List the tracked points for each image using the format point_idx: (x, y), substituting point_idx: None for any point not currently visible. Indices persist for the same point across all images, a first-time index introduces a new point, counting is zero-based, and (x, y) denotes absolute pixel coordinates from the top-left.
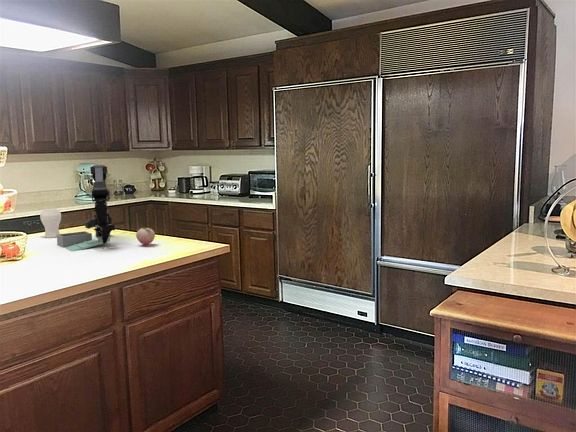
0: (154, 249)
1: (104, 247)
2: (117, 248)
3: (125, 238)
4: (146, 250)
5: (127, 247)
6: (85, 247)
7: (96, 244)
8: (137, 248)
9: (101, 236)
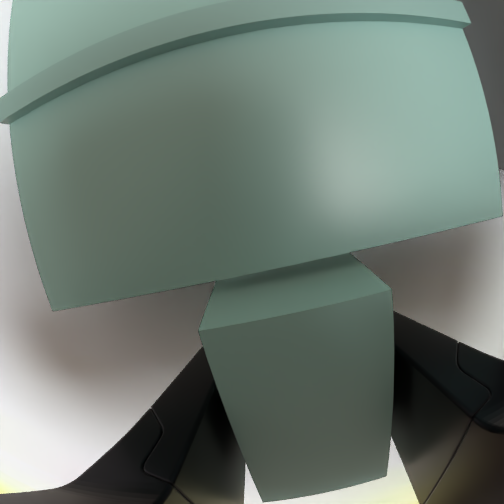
0: (26, 478)
1: (183, 293)
2: (69, 389)
3: None
4: (2, 454)
5: (99, 446)
6: (17, 12)
7: (29, 190)
8: (53, 460)
9: (359, 397)
